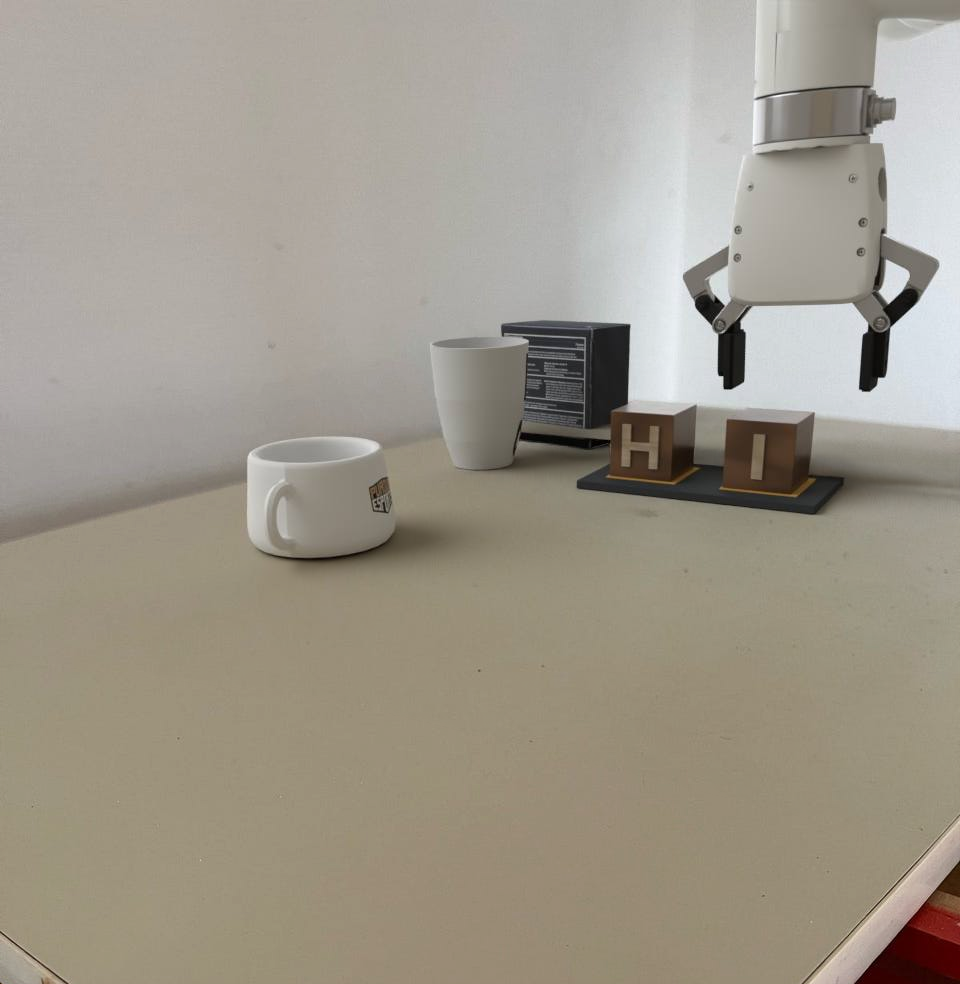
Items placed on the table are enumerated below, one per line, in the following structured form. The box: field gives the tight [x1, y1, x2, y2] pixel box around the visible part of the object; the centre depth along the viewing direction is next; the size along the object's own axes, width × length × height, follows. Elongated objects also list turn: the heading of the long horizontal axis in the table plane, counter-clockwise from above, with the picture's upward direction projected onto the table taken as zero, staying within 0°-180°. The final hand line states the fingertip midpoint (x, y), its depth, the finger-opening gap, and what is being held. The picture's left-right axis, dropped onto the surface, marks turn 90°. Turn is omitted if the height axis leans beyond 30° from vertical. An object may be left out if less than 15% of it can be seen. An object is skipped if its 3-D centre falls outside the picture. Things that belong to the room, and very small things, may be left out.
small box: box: [500, 319, 631, 450], centre depth 94 cm, size 11×6×10 cm, turn 48°
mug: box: [246, 435, 396, 559], centre depth 66 cm, size 12×10×6 cm
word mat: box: [576, 463, 845, 515], centre depth 78 cm, size 18×9×1 cm, turn 60°
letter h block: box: [609, 399, 698, 482], centre depth 79 cm, size 5×5×5 cm
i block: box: [722, 407, 816, 495], centre depth 75 cm, size 5×5×5 cm
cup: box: [429, 336, 529, 471], centre depth 86 cm, size 8×8×10 cm
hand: (799, 387), depth 75 cm, fingers open, 9 cm apart
